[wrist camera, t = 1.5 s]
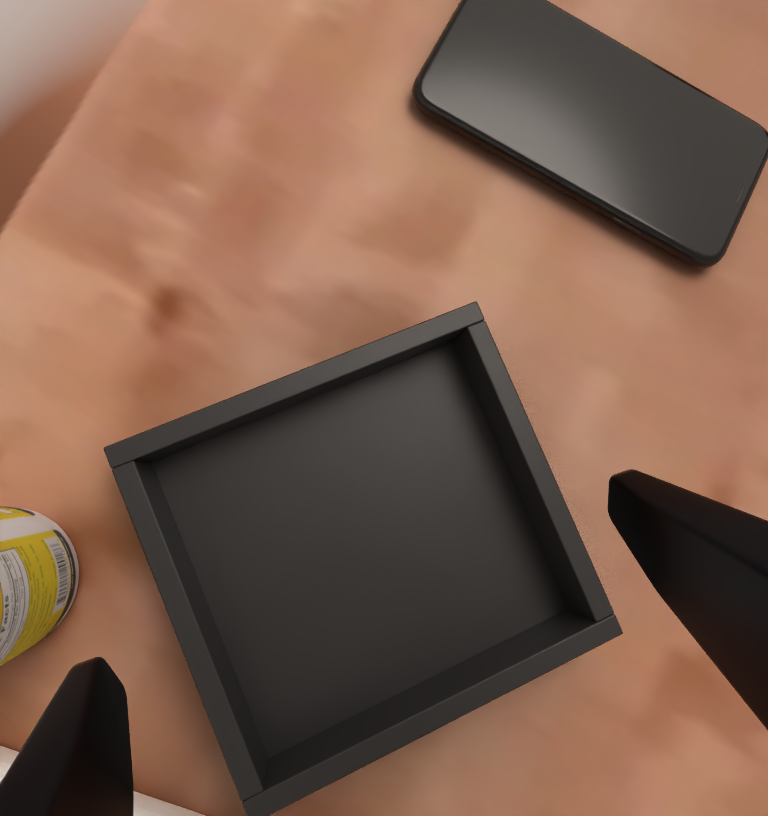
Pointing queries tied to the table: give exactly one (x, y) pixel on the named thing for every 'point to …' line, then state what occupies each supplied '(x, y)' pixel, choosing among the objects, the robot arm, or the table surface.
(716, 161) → the smartphone
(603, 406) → the table surface
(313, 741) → the black tray
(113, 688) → the robot arm
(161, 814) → the calculator
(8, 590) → the supplement bottle
